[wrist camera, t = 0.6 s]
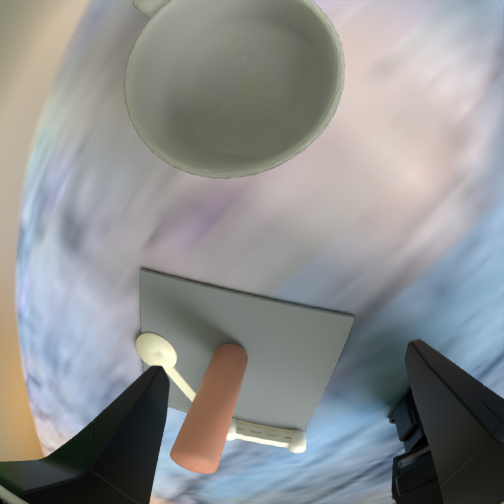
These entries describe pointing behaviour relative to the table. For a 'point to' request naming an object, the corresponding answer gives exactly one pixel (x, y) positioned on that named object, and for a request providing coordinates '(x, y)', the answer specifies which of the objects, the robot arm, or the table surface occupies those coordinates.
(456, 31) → the table surface
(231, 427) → the cream dumbbell
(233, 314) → the board
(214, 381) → the brown cylinder with stick
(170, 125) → the teacup
